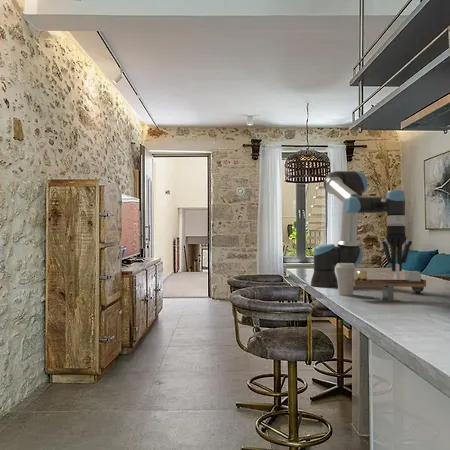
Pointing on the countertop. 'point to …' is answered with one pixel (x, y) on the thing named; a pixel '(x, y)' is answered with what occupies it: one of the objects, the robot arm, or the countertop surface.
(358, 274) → the cylinder
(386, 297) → the fulcrum
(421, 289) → the salt shaker
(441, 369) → the countertop surface
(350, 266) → the coffee cup
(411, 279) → the block
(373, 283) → the wooden tray
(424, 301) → the countertop surface
